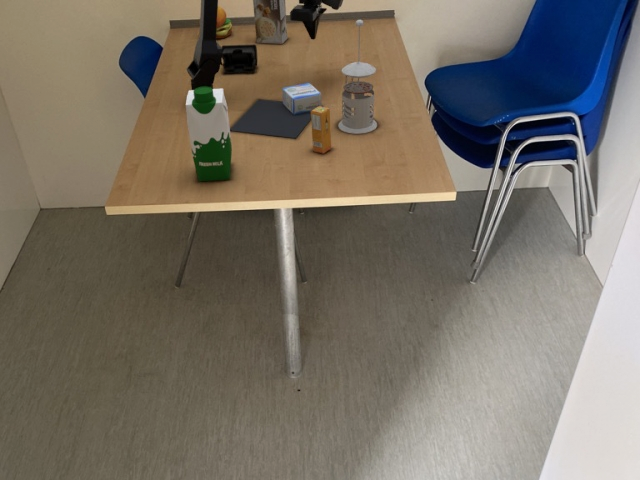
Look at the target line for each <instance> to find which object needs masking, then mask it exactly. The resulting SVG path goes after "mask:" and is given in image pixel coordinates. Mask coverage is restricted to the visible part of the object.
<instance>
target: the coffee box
mask: <svg viewBox="0 0 640 480" xmlns="http://www.w3.org/2000/svg"><path fill="white" fill-rule="evenodd" d="M252 5H253V16H254V26H255V27H254V29H255V39H256V43H257V44H277V45H284V43H285V42H286V41H287V40H288V38H289V37H288V26H287V9H286V0H252Z"/></svg>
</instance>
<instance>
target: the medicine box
mask: <svg viewBox="0 0 640 480" xmlns="http://www.w3.org/2000/svg"><path fill="white" fill-rule="evenodd" d="M281 89H282V102H283V104H284V105H285V106H286V107H287V108H288V109H289V110H290V111H291V112H292V113H293V114H294V115H296V114H300V113H305V112H310V111H312V110H314V109H315V108H317V107H318V106H320V107H323V105H322V93H321V92H320V91H319V90H318V89H317V88H316V87H315V86H313V85H312V84H311V83H310V82H304V83H299V84H296V85H290V86H285V87H282V88H281Z"/></svg>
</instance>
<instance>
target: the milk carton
mask: <svg viewBox="0 0 640 480" xmlns="http://www.w3.org/2000/svg"><path fill="white" fill-rule="evenodd" d="M227 103H228V102H227V100H226V97H225V91H224V88H223V87H222V88H221V87H220V88H213V89H212V88H211V87H199V88H196V89H195V90H192V89H191V90H190V89H189V90H188V92H187V94H186V100H185V112H186V122H187V129H188V136H189V144H190V148H191V155H192V159H193V164H194V167H195V171H196V175H197V179H198V182H211V181H230V180H231V179H230V178H231V168H232V167H231V166H232V155H233V154H232V152H233V147H232V145H233V144H232V137H231V131H230V129H231V127H230V119H229V113H228V110H229V109H228V104H227Z"/></svg>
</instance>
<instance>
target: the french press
mask: <svg viewBox="0 0 640 480" xmlns="http://www.w3.org/2000/svg"><path fill="white" fill-rule="evenodd" d="M364 23H365V22H364V21H363V20H362V19H357V20H356V21H355V23H354V25H355V27H358V58H357V59H358V60H357V61H355V62H351V63H349V64H347V65H345V66H344V67H342V69H341V73H342V74H343V75H344V76H345V84H344V85H343V91H342V94H341V99H342V101H341V104H342V105H341V110H342V111H341V114H342V115H341V120H340V121H339V123H338V125H337V126H338V129H339V130H341V131H342V132H344V133H348V134H354V135H358V134H366V133H367V134H368V133H370V132H373V131H374V130H376V129H377V127H378V123H377V121H375V119H374V115H375V114H374V113H375V112H374V111H375V91H374V90H373V89H374V85H373V84H372V83H370V82H368V81H362V80H360V79H364V78H369V77H372V76H373V75H375V73H376V72H377V69H376V67H375V66H373V65H371V64H370V63H367V62H363V61H360V52H361V51H360V49H361V48H360V47H361V46H360V45H361V27H364V26H365V24H364ZM348 77H349V78H351V81H350V82H348ZM354 79H357V80H356V81H354ZM352 94H353V95H352ZM365 94H370V95H365ZM352 96H353V97H354V98H352Z"/></svg>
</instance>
